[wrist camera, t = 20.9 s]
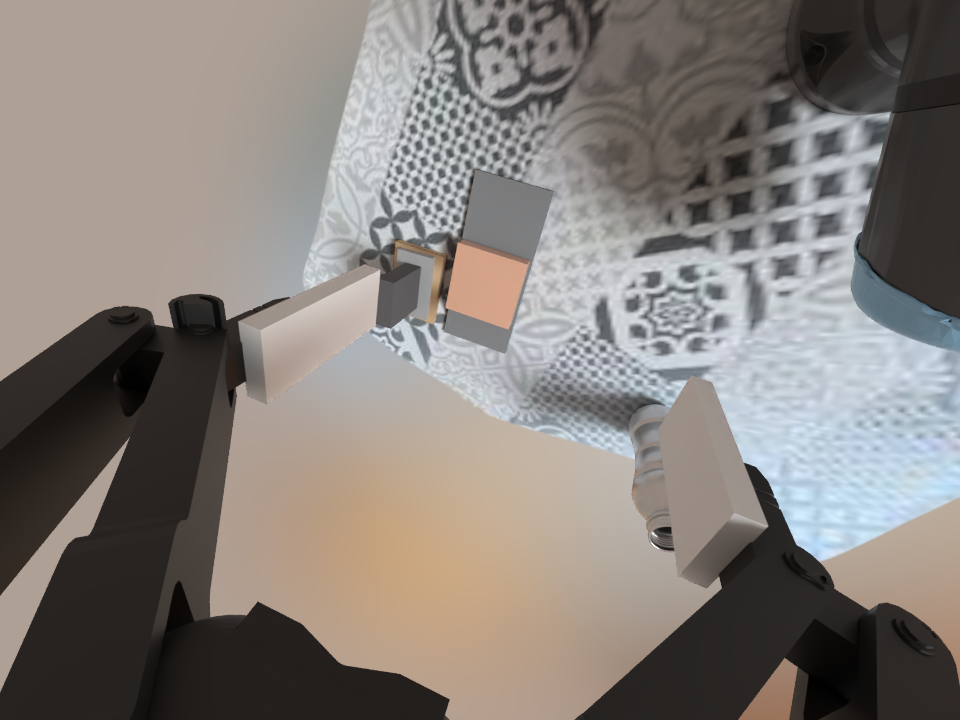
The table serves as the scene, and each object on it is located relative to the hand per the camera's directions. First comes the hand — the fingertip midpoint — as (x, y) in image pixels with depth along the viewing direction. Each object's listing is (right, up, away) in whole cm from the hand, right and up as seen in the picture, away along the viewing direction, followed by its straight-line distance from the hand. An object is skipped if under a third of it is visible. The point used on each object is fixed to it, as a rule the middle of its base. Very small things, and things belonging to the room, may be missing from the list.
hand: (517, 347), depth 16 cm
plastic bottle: (+23, -8, +38) cm, 45 cm away
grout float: (-11, +10, +38) cm, 41 cm away
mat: (0, +11, +35) cm, 37 cm away
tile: (0, +13, +32) cm, 35 cm away
